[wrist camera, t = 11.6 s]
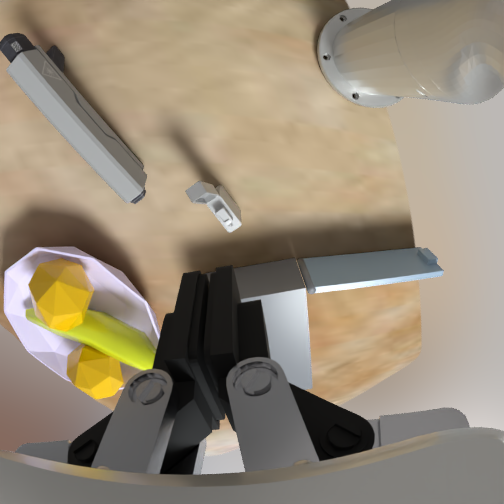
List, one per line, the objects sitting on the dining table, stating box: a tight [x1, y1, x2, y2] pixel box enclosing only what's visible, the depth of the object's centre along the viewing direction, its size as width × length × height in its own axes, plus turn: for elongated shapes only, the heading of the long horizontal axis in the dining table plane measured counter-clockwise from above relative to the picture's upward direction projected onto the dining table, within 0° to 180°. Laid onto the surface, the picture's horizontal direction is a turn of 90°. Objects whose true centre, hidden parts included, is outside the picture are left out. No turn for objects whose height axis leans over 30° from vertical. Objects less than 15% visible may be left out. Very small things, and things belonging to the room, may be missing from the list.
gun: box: [0, 33, 147, 204], centre depth 27 cm, size 2×25×10 cm, turn 33°
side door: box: [297, 247, 444, 294], centre depth 38 cm, size 2×19×7 cm, turn 94°
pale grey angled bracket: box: [185, 181, 241, 233], centre depth 33 cm, size 7×2×8 cm, turn 34°
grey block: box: [205, 258, 312, 390], centre depth 43 cm, size 12×21×8 cm, turn 9°
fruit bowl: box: [4, 247, 160, 399], centre depth 39 cm, size 28×27×11 cm
